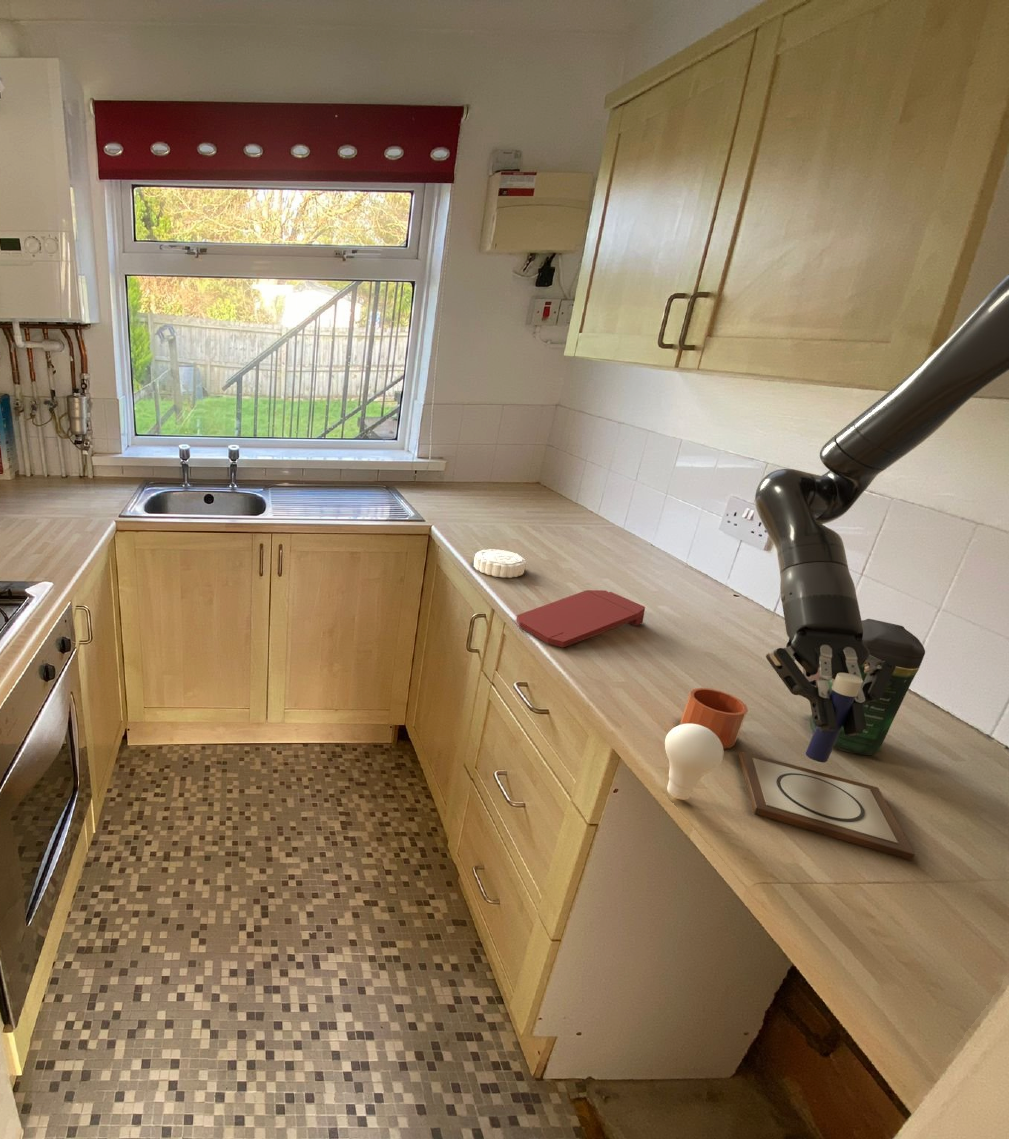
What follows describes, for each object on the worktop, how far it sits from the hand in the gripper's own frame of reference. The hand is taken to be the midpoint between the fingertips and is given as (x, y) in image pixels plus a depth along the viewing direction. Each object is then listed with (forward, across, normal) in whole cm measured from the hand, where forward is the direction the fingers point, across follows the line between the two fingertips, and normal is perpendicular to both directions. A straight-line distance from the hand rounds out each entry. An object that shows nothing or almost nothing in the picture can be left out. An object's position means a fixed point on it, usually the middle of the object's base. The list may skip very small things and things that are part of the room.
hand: (841, 731), depth 77 cm
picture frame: (+8, +1, +8) cm, 11 cm away
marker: (+2, 0, +5) cm, 6 cm away
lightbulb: (+10, -17, +6) cm, 20 cm away
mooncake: (-46, -30, +62) cm, 83 cm away
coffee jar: (-5, +13, +21) cm, 25 cm away
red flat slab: (-26, -18, +42) cm, 52 cm away
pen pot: (-2, -7, +17) cm, 19 cm away
